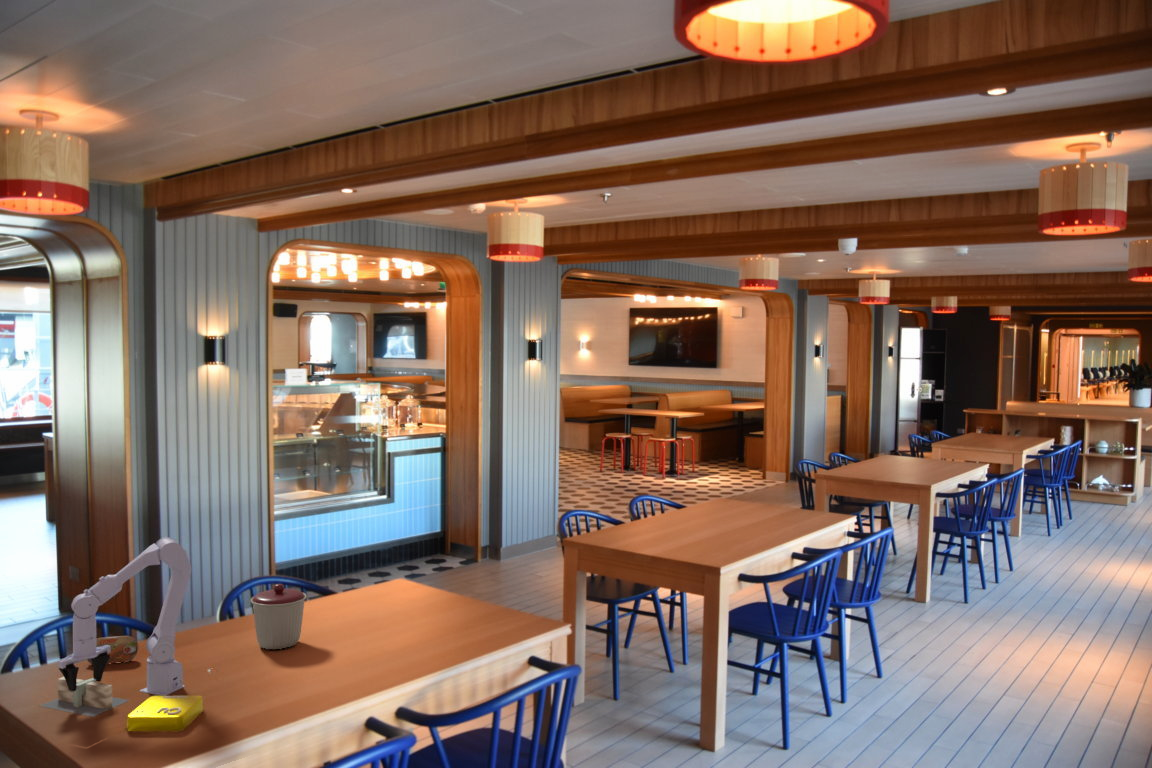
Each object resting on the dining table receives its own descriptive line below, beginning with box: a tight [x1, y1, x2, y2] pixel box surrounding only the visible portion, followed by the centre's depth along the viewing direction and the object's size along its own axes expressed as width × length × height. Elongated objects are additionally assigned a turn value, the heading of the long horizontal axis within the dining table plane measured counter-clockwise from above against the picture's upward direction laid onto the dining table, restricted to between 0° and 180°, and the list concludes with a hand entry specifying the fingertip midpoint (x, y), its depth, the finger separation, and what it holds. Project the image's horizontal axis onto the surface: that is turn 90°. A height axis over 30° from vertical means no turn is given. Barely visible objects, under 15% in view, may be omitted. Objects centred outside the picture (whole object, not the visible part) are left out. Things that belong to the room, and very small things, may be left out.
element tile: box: [126, 694, 204, 733], centre depth 230 cm, size 15×15×5 cm
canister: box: [250, 583, 308, 650], centre depth 291 cm, size 18×18×21 cm
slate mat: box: [39, 696, 130, 717], centre depth 240 cm, size 20×12×1 cm, turn 70°
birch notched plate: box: [57, 676, 113, 709], centre depth 240 cm, size 18×2×6 cm, turn 70°
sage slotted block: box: [73, 677, 97, 707], centre depth 240 cm, size 2×6×6 cm, turn 156°
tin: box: [86, 635, 139, 665], centre depth 273 cm, size 15×3×8 cm, turn 105°
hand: (85, 685), depth 240 cm, fingers open, 7 cm apart
